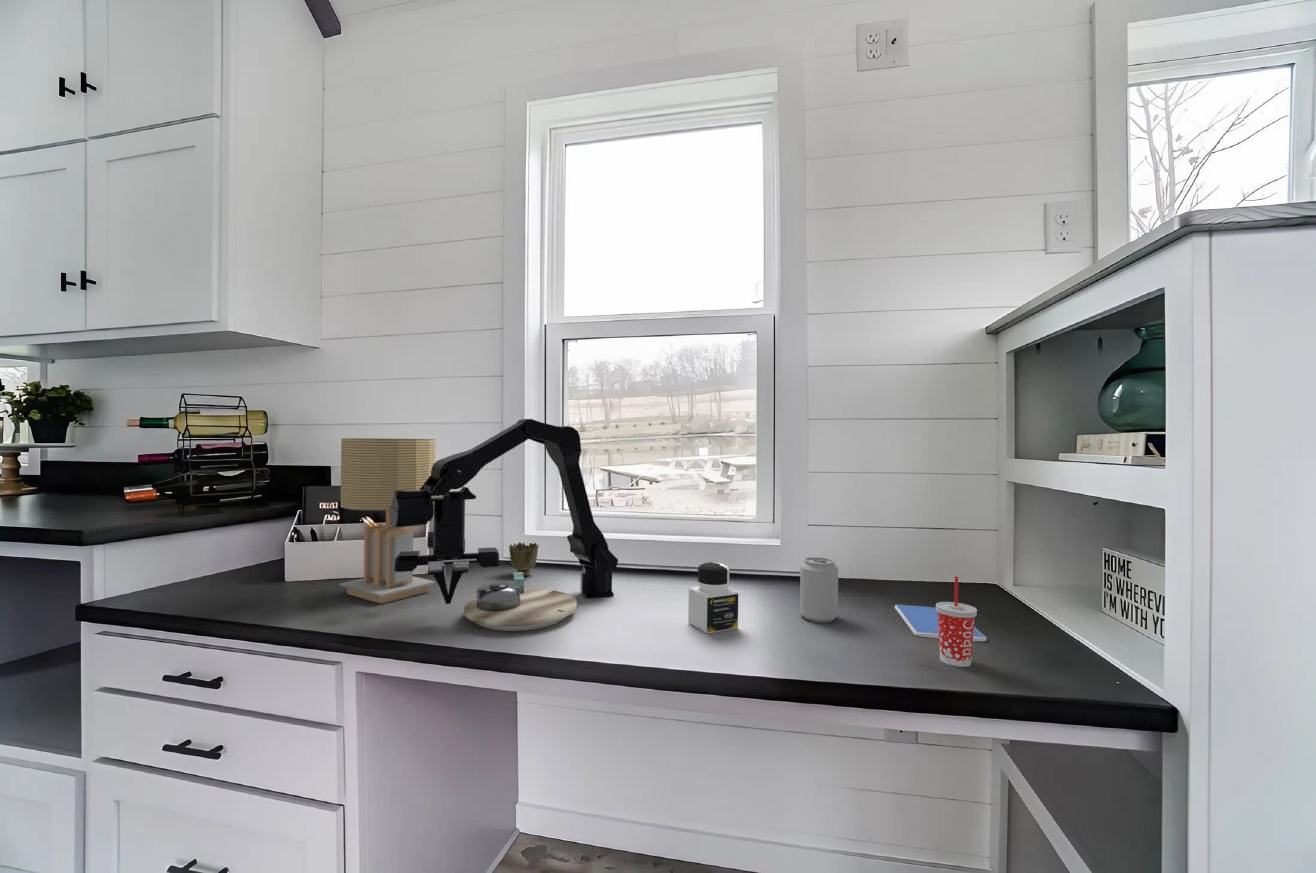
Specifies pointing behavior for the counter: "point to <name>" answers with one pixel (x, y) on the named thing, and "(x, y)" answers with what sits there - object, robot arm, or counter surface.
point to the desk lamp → (371, 486)
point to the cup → (523, 557)
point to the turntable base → (520, 628)
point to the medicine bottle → (713, 600)
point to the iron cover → (498, 596)
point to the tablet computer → (926, 621)
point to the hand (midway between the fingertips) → (448, 603)
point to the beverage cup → (956, 631)
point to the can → (819, 589)
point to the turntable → (526, 608)
